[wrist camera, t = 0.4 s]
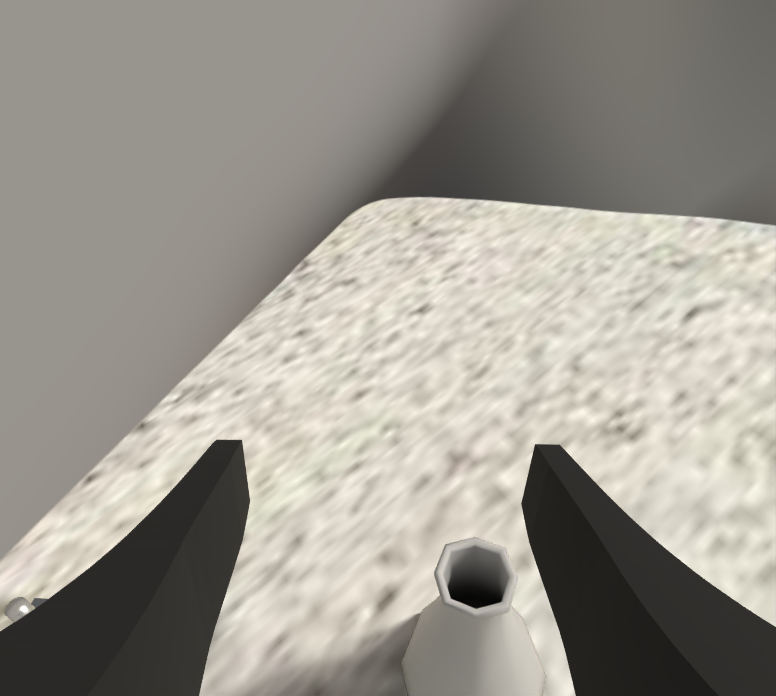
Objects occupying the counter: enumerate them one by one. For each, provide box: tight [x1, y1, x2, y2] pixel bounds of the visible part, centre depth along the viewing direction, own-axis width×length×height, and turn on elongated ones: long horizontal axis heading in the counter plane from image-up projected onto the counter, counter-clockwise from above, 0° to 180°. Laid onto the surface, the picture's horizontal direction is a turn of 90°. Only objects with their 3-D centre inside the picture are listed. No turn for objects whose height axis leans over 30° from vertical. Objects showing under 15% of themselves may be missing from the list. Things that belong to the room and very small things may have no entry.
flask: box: [401, 537, 546, 696], centre depth 24 cm, size 7×7×10 cm
